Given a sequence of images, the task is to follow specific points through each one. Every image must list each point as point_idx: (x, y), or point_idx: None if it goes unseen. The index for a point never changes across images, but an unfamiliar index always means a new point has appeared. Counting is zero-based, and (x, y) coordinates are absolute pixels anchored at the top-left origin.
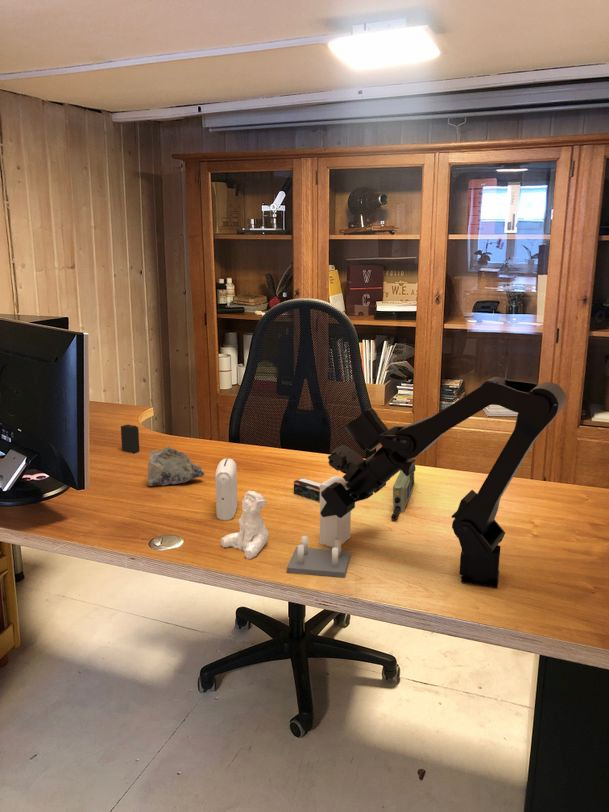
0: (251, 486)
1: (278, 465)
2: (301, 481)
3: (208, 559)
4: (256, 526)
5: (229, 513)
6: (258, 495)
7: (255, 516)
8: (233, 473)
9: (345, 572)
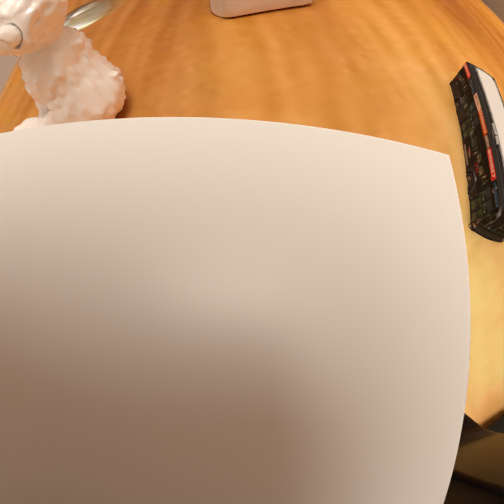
0: (407, 15)
1: (500, 49)
2: (478, 75)
3: (18, 95)
4: (29, 92)
5: (219, 4)
6: (8, 6)
7: (24, 64)
8: None
9: None
